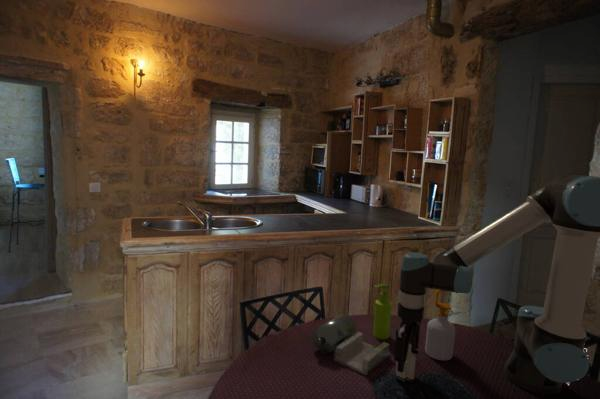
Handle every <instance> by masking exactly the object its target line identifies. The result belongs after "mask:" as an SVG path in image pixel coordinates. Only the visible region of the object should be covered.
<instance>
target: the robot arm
mask: <svg viewBox="0 0 600 399" xmlns="http://www.w3.org/2000/svg"><path fill="white" fill-rule="evenodd" d="M543 223H549V224H550V223H551V225H552V226H553V227H554V228H555V229H556V231H557V234H556V237H555V243H554V250H553V255H552V260H551V264H550V265H551V266H550V271H549V276H548V281H547V287H546V291H545V296H544V297H545V298H544V302H543V303H544V304H543V306H535V305H523V306H521V307H519V310H518V314H517V320H516V329H515V337H514V344H513V350H512V352H511V354H510V355H509V356H508V358H507V361H506V362H505V364H504V371H503V372H504V375H505V376H506V377H507V379H508V380H510V381H511V382H512V383H513V384H515V385H516V386H518V387H520V388H521V389H524V390H525V391H529V392H531V393H536V394H539V395H547V396H552V395H557V394H559V393H560V392H561V390H562V385H563V384H568V383H569V384H570V383H574V382H575V381H577V380H578V381H580V380H581V379H582V378H584V377H585V376H586V375H587V373H588V371H589V368H590V362H589V361H590V360H589V359H588V356H587V353H586V352H584V351H585V345H586V339H587V332H586V331H585V329H584V328H583V327H582V322H583V321H582V320H583V317H584V312H585V306H586V302H587V296H588V292H589V286H590V281H591V277H592V273H593V272H592V271H593V265H594V262H595V257H596V252H597V248H598V242H599V239H600V177H599V176H594V175H583V174H581V175H580V174H575V173H571V174H564V175H561V176H558V177H556V178H554V179H553V180H551V181H549V182H547V183H546V184H544V185H543V186H541V187H540V188H538V189H536V190H534V192H532V193H531V194H528V195H527V196H526V201H525V202H523V203H522V204H520V205H518V206H517V207H515V208H513V209H512V210H510V211H509V212H507V213H505V214H504V215H502V216H501V217H499V218H497V219H495V220H494V221H492V222H491V223H490V224H489V223H488V225H486V226H485V227H483V228H481V229H479V230H478V231H476V232H475V233H473V234H471V236H469V237H467V238H465V239H464V240H463V241H461V242H459V243H457V244H456V245H453V247H450V248H449V249H448V250H441V251H439V252H437V253H436V255H435V256H434V258H433V262H432V261H431V262H430V260H429V256H428V255H427V254H425V253H419V252H415V251H413V252H405V253H404V254H403V255H402V259H401V265H400V277H399V289H398V291H397V293H398V303H397V311H396V312H397V316H398V317H399V318H400V319H401V322H400V323H399V324H400V326H399V329H396V330H395V347H394V357H393V359H394V361H396V362H397V372H396V371H395V374H396V375H397V376H400V377H402V378H406V369H407V361H406V357H407V352H408V347H409V344H411V352H412V353H413V355H414V356H415V355H418V354H419V351H418V349H419V345H420V344H419V343H420V342H419V341H420V332H421V324H422V321H423V319H424V314H425V307H424V306H425V303H426V290H427V289H432V290H435V289H437V290H443V291H442V292H450V293H455V294H469V293H470V292H471V291H472V287H473V277H474V276H473V271H472V269H471V268H470V266H472V265H474V264H476V263H478V262H479V261H481V260H483V259H484V258H486V257H488V256H490V255H491V254H493V253H494V252H496V251H498V250H500V249H501V248H503V247H505V246H507V245H508V244H510V243H511V242H513V241H515V240H517V239H519V238H520V237H521V236H523V235H525V234H527V233H528V232H530V231H531V230H533V229H535V228H537V227H538V226H540V225H542V224H543ZM415 357H416V356H415ZM396 375H395V376H396Z"/></svg>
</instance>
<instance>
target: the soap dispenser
mask: <svg viewBox="0 0 600 399" xmlns="http://www.w3.org/2000/svg"><path fill="white" fill-rule="evenodd" d="M374 287H375V288H376V289H379V288H382V289H381V291H380V292H379V296H378V297H379V298H378V299H376V300H375V301H374V302H375V304H374V316H373V327H372V328H373V330H372V335H373V337H374V338H376V339H378V340H387V339H389V337H390V327H391V316H392V304H393V303H392V302H391V301H390V300H389V297H390V294H389V292H388V288H390V285H389V284H387V283H378V284H376V285H374Z"/></svg>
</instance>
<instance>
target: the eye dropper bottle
mask: <svg viewBox="0 0 600 399" xmlns="http://www.w3.org/2000/svg"><path fill="white" fill-rule="evenodd" d="M406 361H407V369H406V377H408V378H410V379H413V381H414V380H415V373H416V372H415V371H416V361H417V360H416V356H414V355H413V353H412V352H411V344H409V347H408V352H407V357H406ZM396 372H397V361H396V365H395V373H396Z"/></svg>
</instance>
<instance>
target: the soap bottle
mask: <svg viewBox="0 0 600 399" xmlns="http://www.w3.org/2000/svg"><path fill="white" fill-rule="evenodd" d="M442 292H444V291H443V290H437V289H434V296H433V297H434V298H433V302H434V303H435V307H436V308H438V309H439V311H437V314H436V317H435V318H432V319H430V320H429V321H428V322H427V326H426V335H425V336H426V337H425V343H424V352H425V354H426V355H427V356H429V357H430V358H432V359H435V360H438V361H449V360H451V359H452V358H453V355H454V349H455V348H454V346H455V339H456V338H455V337H456V327H455V325H453V323H452V322H451V321H449V320H448V315H449V314H448V313H447V312H446V311H448V310H452V307H451V305H450V303H445V302H439V301H438V298H439V294H440V293H442Z"/></svg>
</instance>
